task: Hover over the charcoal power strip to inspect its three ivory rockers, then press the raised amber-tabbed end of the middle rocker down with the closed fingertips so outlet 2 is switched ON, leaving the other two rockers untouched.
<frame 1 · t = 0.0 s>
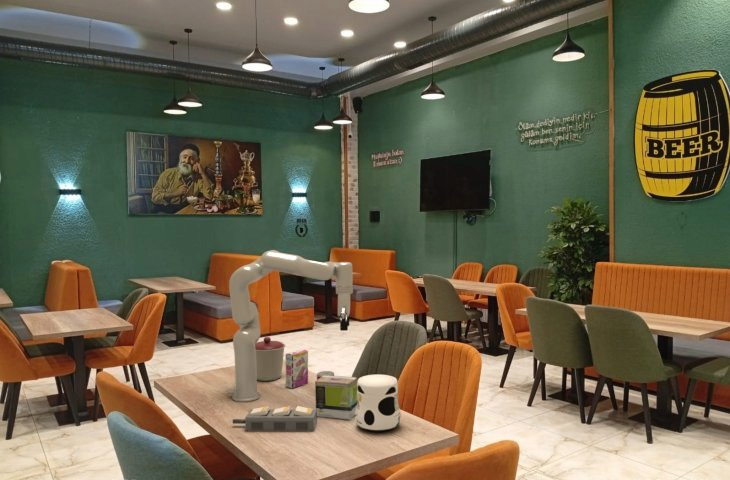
hand: (344, 328, 240), 31 cm above the table, fingers open, 9 cm apart
candy bar box: (297, 385, 260), on the table
rocker 3: (303, 411, 207), point 6 cm above the table, hinge at 12.0°, touching power strip
tea box: (337, 414, 220), on the table
milk container: (378, 427, 206), on the table
rocker 2: (281, 411, 207), point 6 cm above the table, hinge at -12.0°
power strip: (281, 426, 207), on the table
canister: (267, 378, 273), on the table
rocker 1: (259, 411, 208), point 6 cm above the table, hinge at -12.0°, touching power strip
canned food: (325, 398, 241), on the table
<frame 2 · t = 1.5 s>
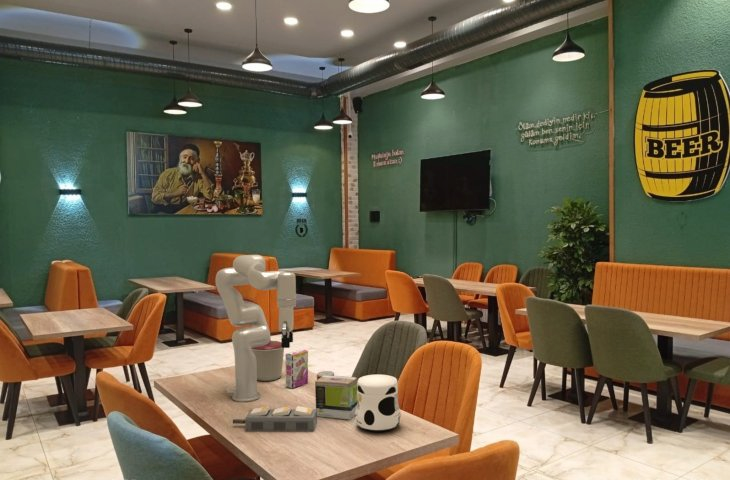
hand: (287, 344, 218), 29 cm above the table, fingers open, 9 cm apart
nothing on the table moved.
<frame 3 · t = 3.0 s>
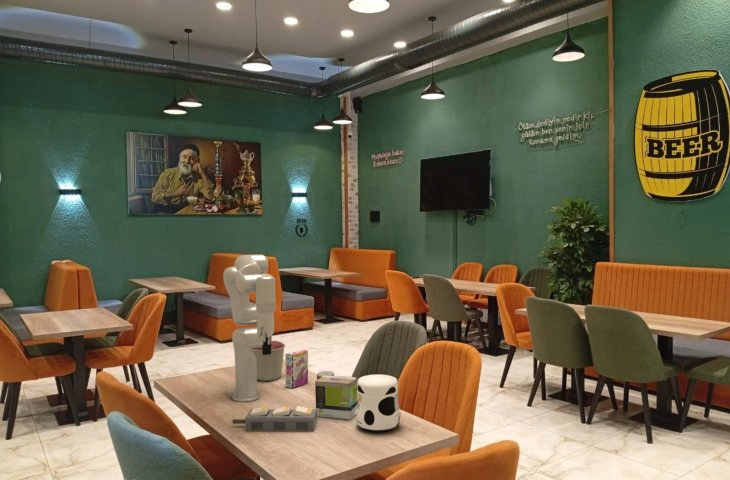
hand: (266, 354, 211), 27 cm above the table, fingers closed
nothing on the table moved.
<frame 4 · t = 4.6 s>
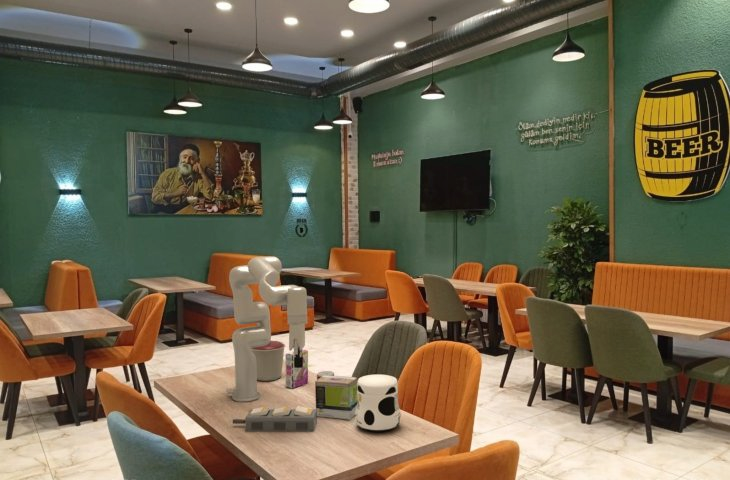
hand: (298, 367, 206), 23 cm above the table, fingers closed
nothing on the table moved.
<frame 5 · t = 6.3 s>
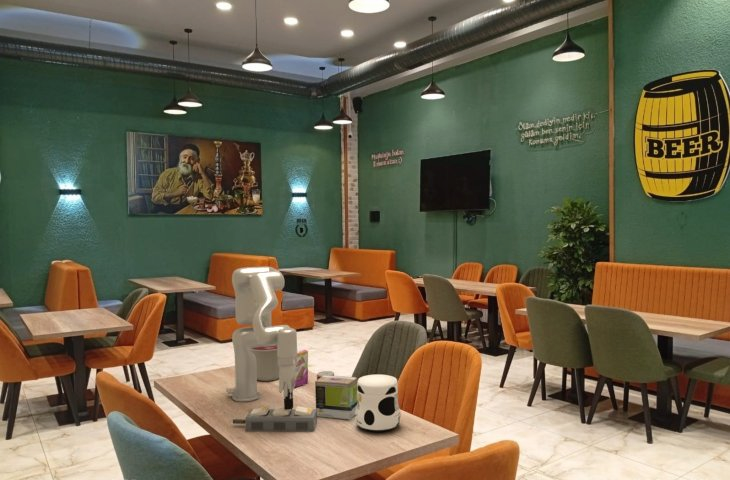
hand: (288, 408, 207), 7 cm above the table, fingers closed
rocker 2: (281, 411, 207), point 6 cm above the table, hinge at -8.9°, touching gripper
everything else where it was.
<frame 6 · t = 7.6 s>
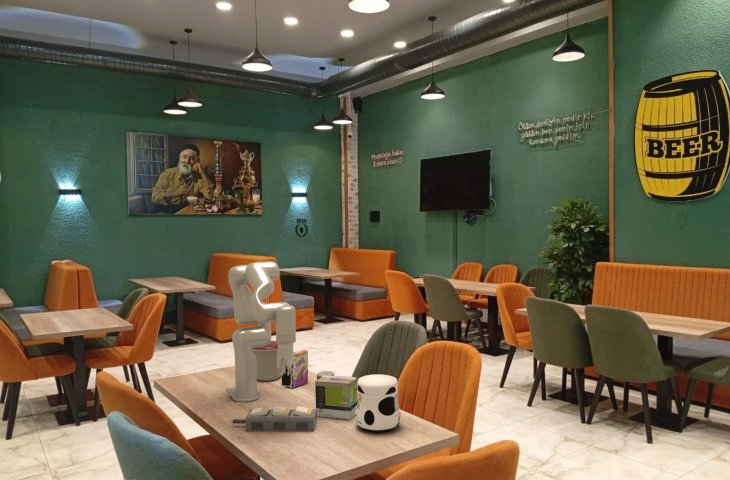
hand: (286, 385, 207), 16 cm above the table, fingers closed
rocker 2: (281, 411, 207), point 6 cm above the table, hinge at 4.6°
everything else where it was.
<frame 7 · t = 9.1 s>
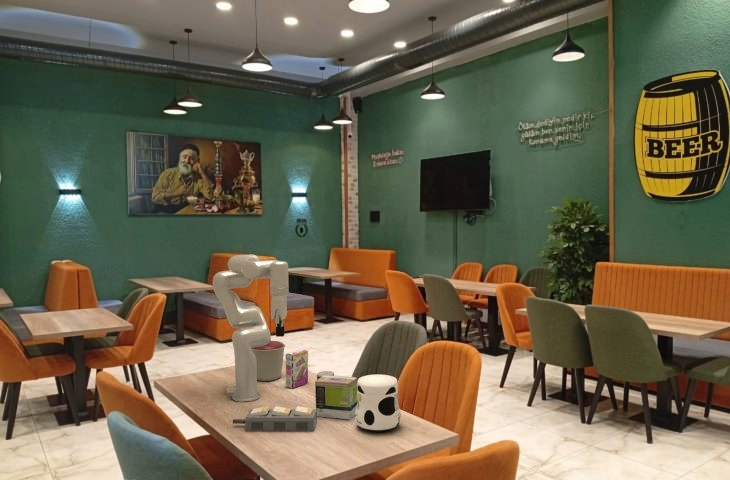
hand: (280, 336, 221), 32 cm above the table, fingers closed
rocker 2: (281, 411, 207), point 6 cm above the table, hinge at 10.0°
everything else where it was.
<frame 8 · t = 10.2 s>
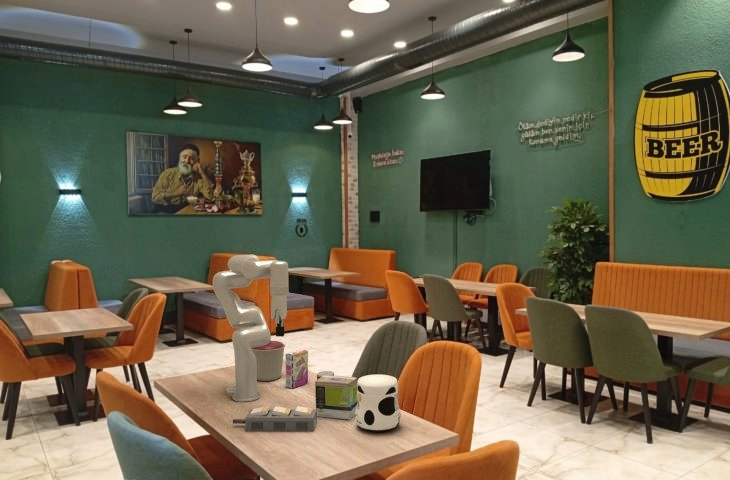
hand: (280, 335, 221), 32 cm above the table, fingers closed
rocker 2: (281, 411, 207), point 6 cm above the table, hinge at 11.6°
everything else where it was.
at the end: rocker 2 at +12° (first picture: -12°); rocker 1 at -12° (first picture: -12°); rocker 3 at +12° (first picture: +12°) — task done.
